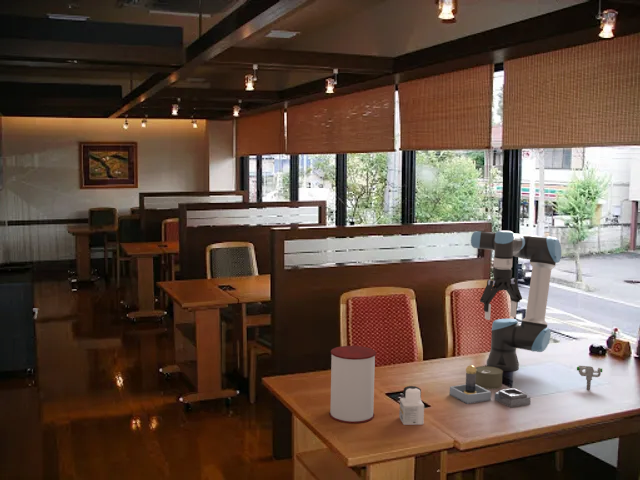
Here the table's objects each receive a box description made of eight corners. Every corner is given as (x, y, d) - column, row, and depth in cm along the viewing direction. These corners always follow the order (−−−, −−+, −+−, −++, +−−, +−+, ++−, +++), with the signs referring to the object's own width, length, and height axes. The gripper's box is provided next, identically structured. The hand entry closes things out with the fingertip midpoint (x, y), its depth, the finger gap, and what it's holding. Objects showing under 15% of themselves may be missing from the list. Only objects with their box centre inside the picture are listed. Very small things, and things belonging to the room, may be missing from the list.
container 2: (399, 417, 261) (400, 384, 260) (418, 417, 262) (420, 384, 261) (403, 425, 254) (404, 391, 252) (423, 424, 254) (424, 390, 253)
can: (507, 385, 303) (507, 370, 302) (494, 391, 294) (494, 375, 293) (482, 379, 311) (483, 364, 310) (469, 385, 302) (469, 369, 301)
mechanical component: (601, 391, 296) (602, 369, 295) (576, 389, 298) (577, 367, 297) (600, 389, 299) (601, 367, 298) (575, 387, 301) (576, 365, 300)
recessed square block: (494, 399, 283) (495, 389, 283) (513, 396, 287) (514, 386, 287) (510, 407, 274) (511, 397, 274) (530, 404, 278) (530, 394, 278)
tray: (449, 394, 288) (449, 386, 288) (472, 391, 293) (473, 383, 293) (467, 404, 277) (467, 395, 277) (490, 400, 282) (491, 391, 282)
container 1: (381, 421, 257) (382, 356, 254) (337, 425, 252) (338, 359, 250) (365, 405, 274) (366, 344, 271) (323, 409, 269) (324, 347, 266)
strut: (465, 398, 282) (467, 367, 281) (462, 394, 287) (463, 363, 286) (478, 398, 283) (479, 367, 281) (474, 394, 288) (475, 363, 286)
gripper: (484, 270, 276) (482, 322, 279) (532, 267, 287) (529, 317, 289) (472, 268, 283) (470, 318, 286) (520, 265, 294) (517, 313, 296)
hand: (500, 318), depth 287 cm, fingers open, 13 cm apart
